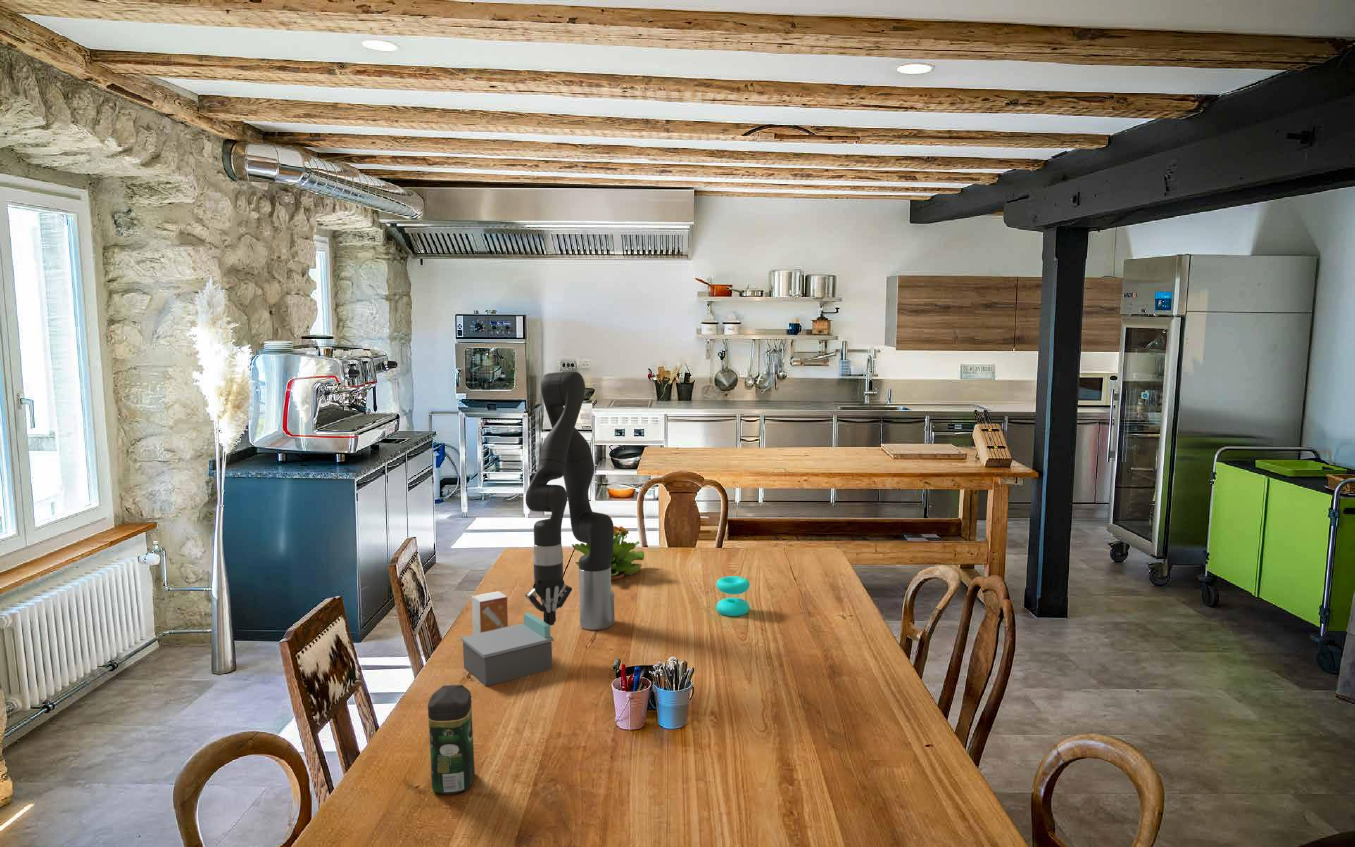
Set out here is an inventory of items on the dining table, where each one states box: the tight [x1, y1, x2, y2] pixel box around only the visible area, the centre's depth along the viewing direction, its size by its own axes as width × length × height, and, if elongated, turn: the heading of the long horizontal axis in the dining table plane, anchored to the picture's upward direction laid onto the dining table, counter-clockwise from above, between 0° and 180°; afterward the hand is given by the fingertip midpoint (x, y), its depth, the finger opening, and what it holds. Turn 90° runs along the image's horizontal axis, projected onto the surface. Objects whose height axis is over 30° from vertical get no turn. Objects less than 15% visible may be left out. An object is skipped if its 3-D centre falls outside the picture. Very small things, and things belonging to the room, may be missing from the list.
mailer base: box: [462, 641, 553, 687], centre depth 224 cm, size 18×14×7 cm
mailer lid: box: [460, 612, 554, 658], centre depth 223 cm, size 19×15×4 cm
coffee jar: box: [427, 684, 476, 795], centre depth 168 cm, size 10×8×19 cm
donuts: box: [715, 575, 751, 617], centre depth 265 cm, size 10×10×10 cm
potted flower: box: [571, 525, 645, 581], centre depth 300 cm, size 25×24×18 cm
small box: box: [471, 590, 509, 635], centre depth 242 cm, size 8×6×13 cm
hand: (549, 624), depth 230 cm, fingers closed
